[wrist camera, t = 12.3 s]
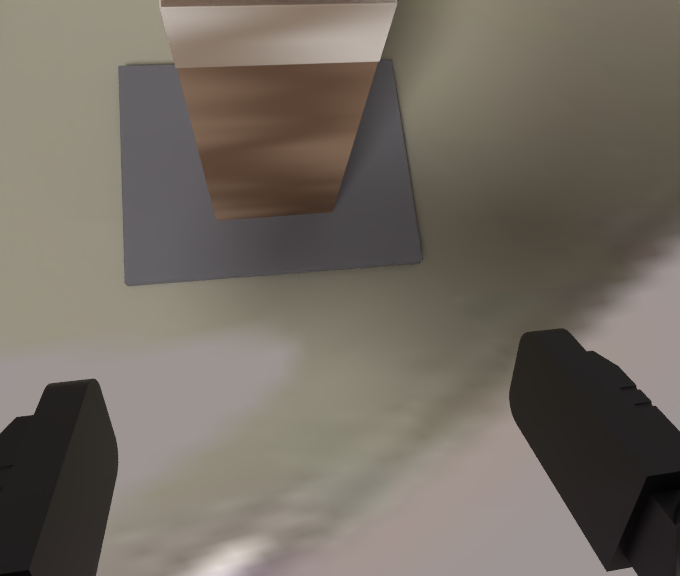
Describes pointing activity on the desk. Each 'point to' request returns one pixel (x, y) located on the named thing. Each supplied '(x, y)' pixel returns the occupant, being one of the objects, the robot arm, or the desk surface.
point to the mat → (254, 233)
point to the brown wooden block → (275, 95)
